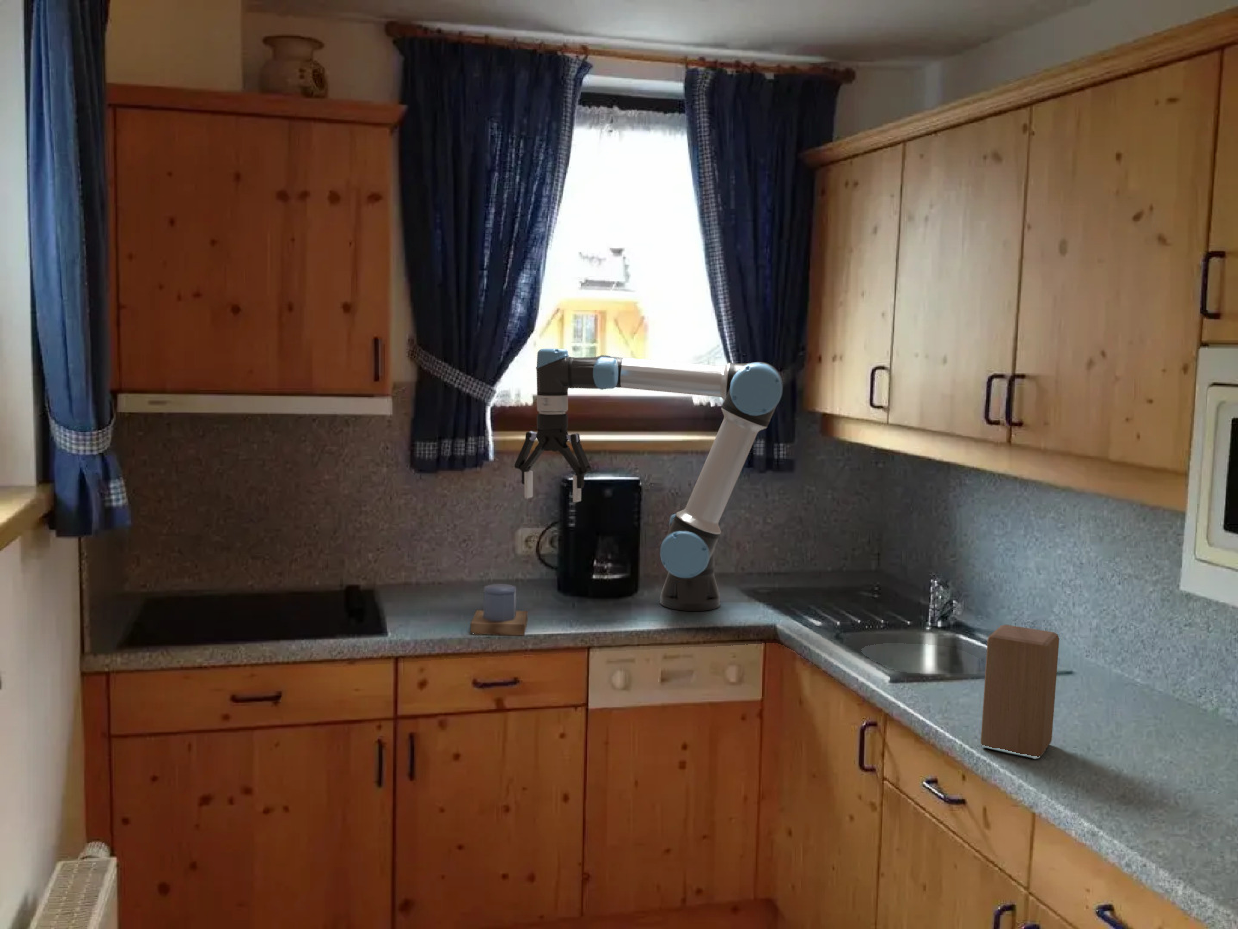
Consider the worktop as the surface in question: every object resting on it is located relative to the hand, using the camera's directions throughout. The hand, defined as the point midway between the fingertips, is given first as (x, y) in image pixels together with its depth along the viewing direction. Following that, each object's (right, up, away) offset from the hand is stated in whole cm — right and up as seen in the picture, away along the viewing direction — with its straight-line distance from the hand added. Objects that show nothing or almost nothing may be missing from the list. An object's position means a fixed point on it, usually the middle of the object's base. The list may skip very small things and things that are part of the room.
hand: (552, 499), depth 279 cm
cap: (-11, -27, -16) cm, 33 cm away
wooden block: (+84, -40, -83) cm, 125 cm away
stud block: (-11, -29, -16) cm, 35 cm away
